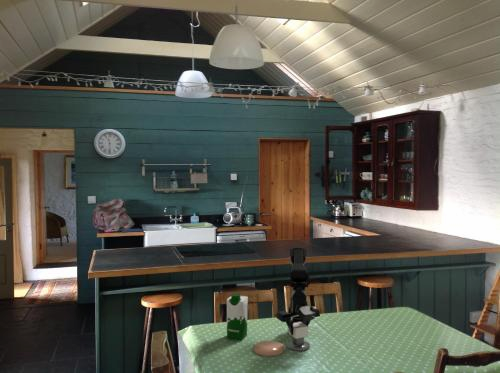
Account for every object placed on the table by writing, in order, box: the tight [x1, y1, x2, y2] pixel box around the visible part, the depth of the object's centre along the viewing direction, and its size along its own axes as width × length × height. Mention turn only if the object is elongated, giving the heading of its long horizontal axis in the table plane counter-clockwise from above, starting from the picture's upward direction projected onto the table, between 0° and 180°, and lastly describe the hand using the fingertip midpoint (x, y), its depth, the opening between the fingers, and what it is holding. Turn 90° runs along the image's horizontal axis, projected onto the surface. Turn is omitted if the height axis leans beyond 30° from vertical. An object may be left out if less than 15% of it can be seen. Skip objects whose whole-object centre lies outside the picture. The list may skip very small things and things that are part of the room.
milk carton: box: [225, 293, 249, 342], centre depth 196 cm, size 9×9×20 cm
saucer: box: [253, 340, 286, 358], centre depth 183 cm, size 13×13×1 cm
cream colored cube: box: [288, 322, 309, 339], centre depth 186 cm, size 6×6×4 cm
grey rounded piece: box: [285, 336, 311, 352], centre depth 186 cm, size 10×10×6 cm
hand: (298, 333), depth 186 cm, fingers closed on cream colored cube, 6 cm apart
